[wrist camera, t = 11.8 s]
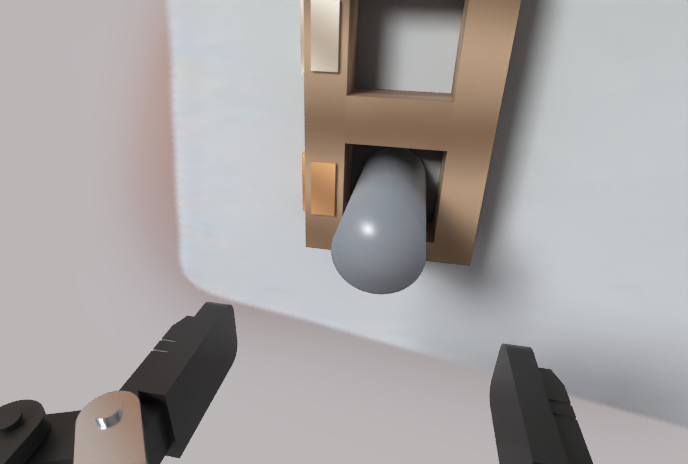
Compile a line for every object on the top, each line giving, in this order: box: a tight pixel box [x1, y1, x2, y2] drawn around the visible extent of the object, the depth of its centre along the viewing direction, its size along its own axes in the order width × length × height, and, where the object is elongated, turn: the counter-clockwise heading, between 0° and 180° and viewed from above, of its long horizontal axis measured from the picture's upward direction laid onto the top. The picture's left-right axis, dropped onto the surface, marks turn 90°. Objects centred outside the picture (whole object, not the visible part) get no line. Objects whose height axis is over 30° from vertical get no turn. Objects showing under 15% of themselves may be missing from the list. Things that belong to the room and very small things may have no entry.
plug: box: [331, 147, 426, 294], centre depth 22 cm, size 4×4×10 cm
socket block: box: [300, 0, 521, 266], centre depth 23 cm, size 16×10×3 cm, turn 178°
